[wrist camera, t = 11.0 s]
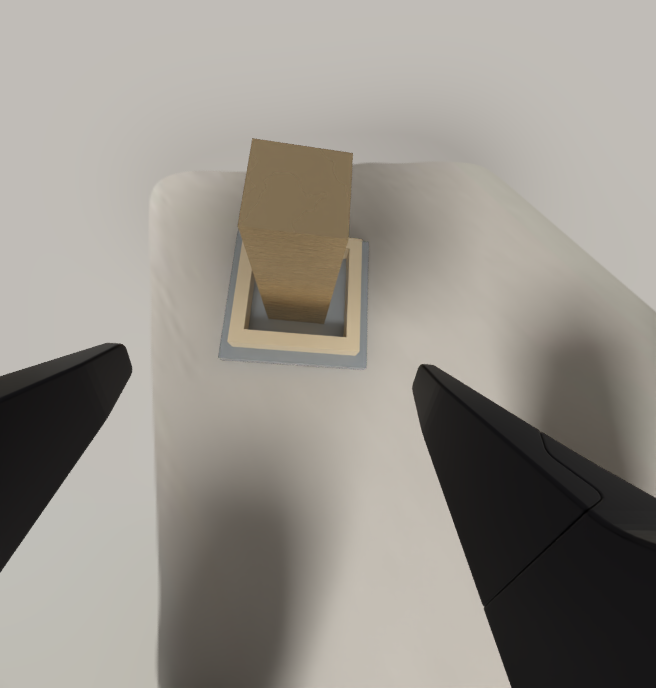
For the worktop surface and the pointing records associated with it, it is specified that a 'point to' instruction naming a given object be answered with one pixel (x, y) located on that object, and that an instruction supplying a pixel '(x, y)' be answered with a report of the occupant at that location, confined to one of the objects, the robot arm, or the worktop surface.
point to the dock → (299, 337)
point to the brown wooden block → (296, 226)
